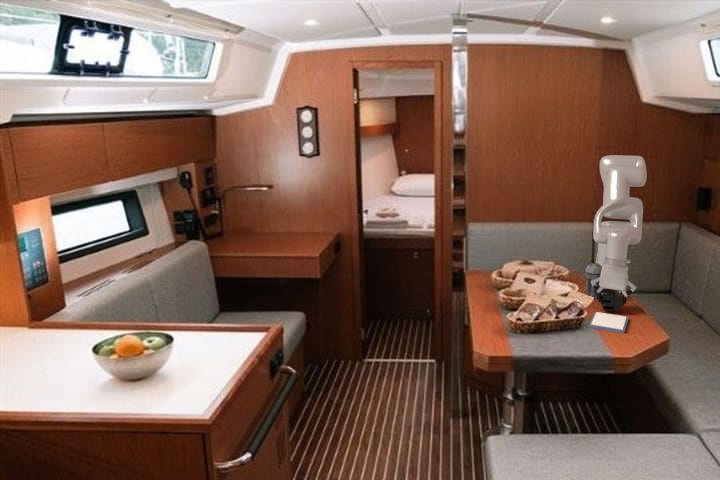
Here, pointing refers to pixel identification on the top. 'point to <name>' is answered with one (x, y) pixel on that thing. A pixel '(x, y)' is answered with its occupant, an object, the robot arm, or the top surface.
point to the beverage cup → (592, 277)
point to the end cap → (611, 300)
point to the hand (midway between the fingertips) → (611, 303)
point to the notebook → (609, 322)
